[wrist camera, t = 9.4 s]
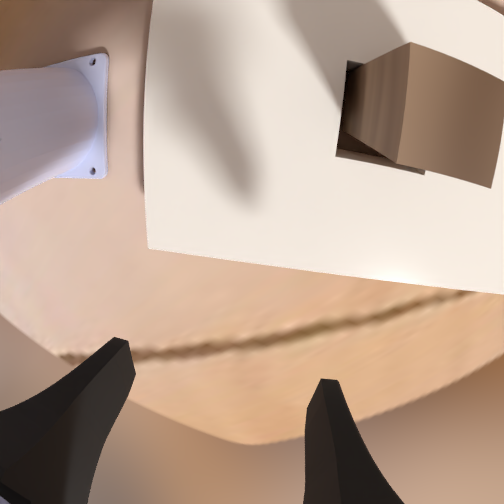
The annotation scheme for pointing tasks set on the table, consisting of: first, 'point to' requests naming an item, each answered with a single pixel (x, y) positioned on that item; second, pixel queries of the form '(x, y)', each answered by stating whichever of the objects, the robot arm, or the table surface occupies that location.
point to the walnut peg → (428, 112)
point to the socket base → (308, 142)
